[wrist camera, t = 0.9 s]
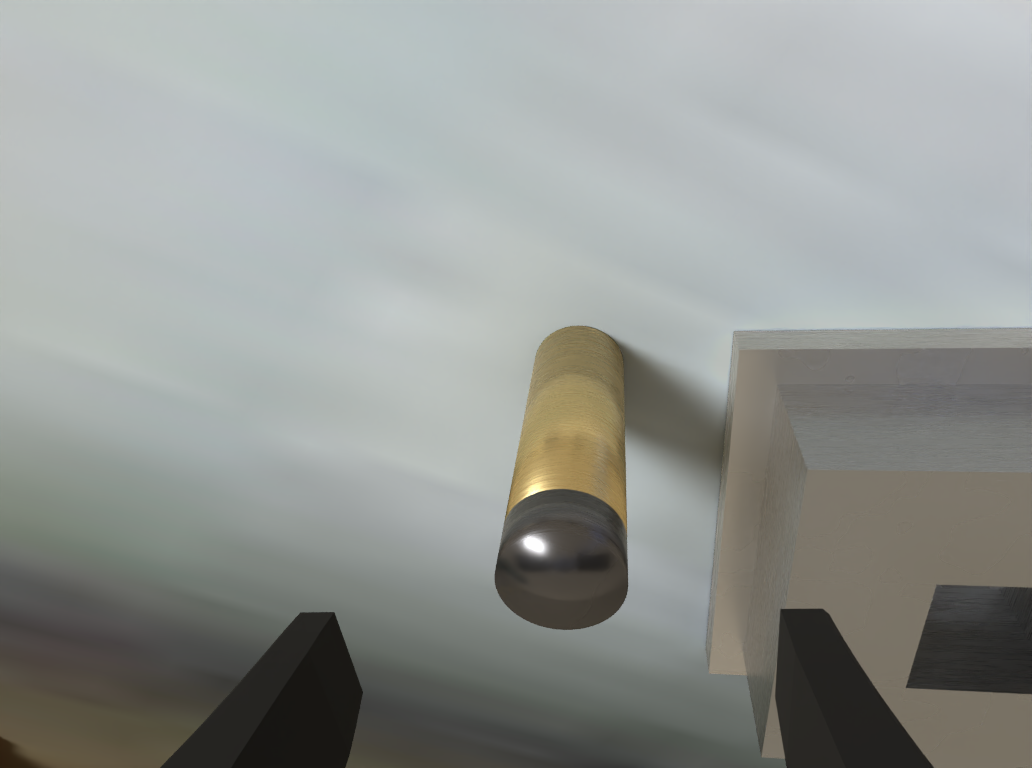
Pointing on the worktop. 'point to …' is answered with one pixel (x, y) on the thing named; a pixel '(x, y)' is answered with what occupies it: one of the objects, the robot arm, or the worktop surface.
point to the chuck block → (885, 525)
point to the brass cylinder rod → (569, 488)
